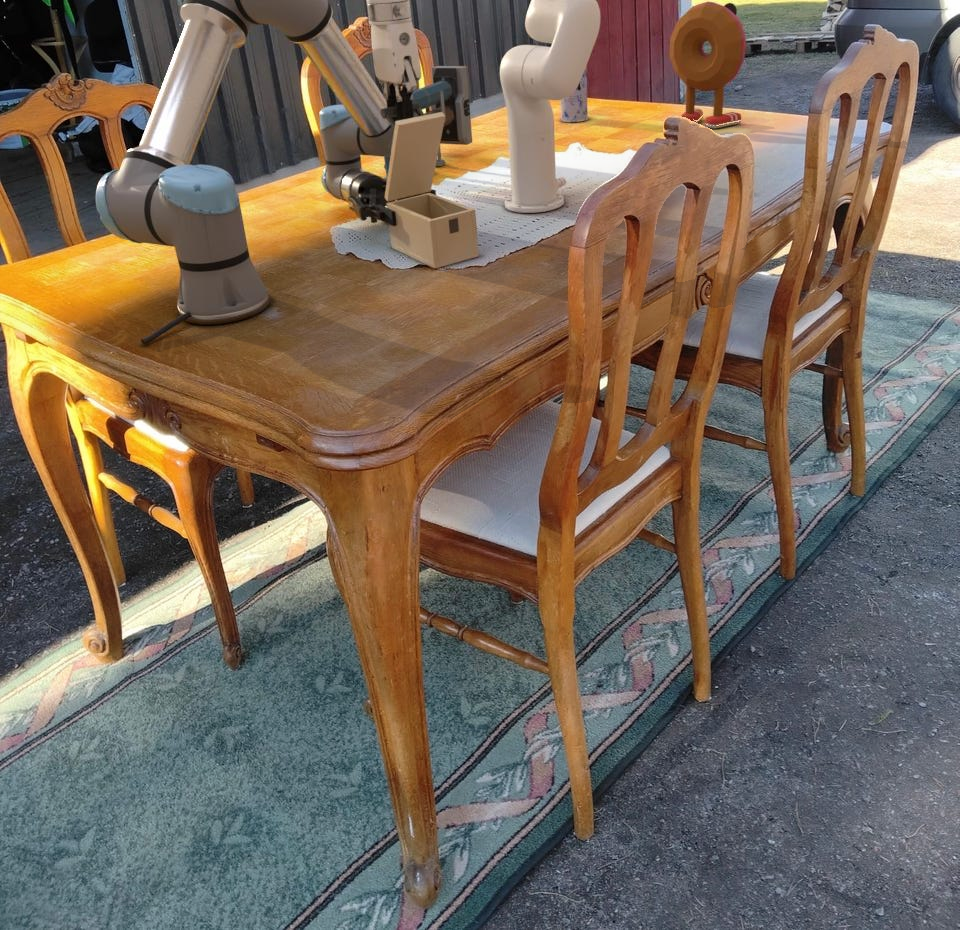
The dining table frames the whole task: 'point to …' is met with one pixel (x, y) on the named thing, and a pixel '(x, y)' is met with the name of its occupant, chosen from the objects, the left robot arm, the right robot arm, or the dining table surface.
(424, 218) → the chest
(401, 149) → the lid
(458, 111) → the clamp
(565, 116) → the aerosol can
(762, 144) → the dining table surface
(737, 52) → the toy
